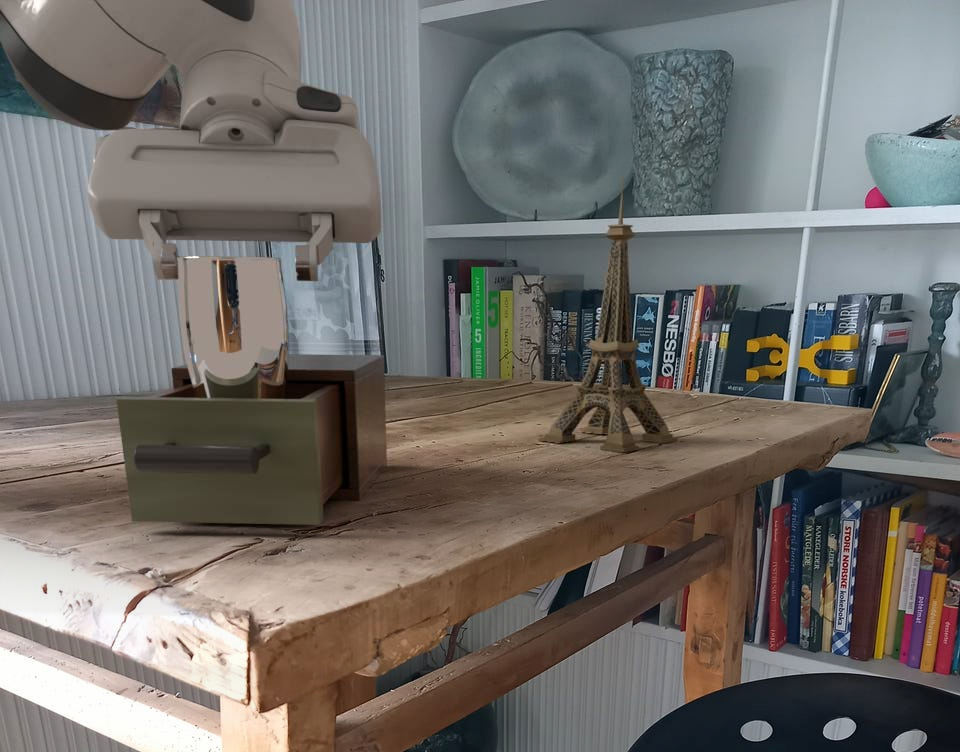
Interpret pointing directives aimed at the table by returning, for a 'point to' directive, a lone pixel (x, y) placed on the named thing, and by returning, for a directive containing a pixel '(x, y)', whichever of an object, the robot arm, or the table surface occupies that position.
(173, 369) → the cabinet
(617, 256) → the eiffel tower
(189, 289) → the beer glass
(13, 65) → the robot arm
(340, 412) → the drawer
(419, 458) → the table surface
